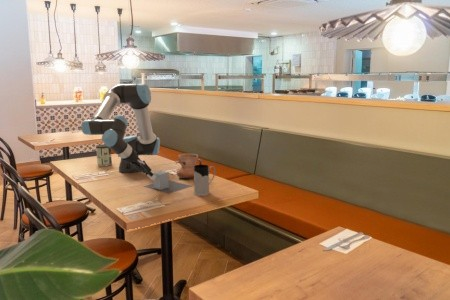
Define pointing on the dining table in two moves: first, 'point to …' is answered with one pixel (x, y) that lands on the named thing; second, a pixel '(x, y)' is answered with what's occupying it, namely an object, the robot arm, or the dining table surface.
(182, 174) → the ceramic jug
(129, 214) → the dining table surface
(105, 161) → the coffee can
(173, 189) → the mat
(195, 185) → the tall grey mug
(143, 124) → the robot arm
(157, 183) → the block
